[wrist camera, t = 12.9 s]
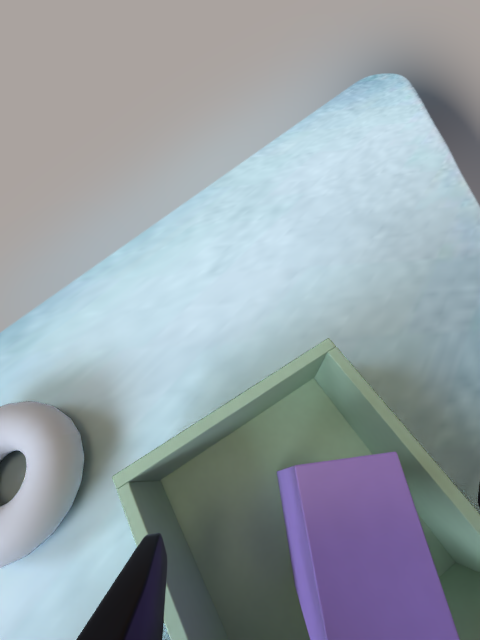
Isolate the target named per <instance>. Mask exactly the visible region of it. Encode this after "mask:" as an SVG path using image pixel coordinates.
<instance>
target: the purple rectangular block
mask: <svg viewBox="0 0 480 640" xmlns="http://www.w3.org/2000/svg"><path fill="white" fill-rule="evenodd" d="M277 477H278V483H279V490H280V496H281V502H282V508H283V515H284V521H285V527H286V533H287V540H288V546H289V552H290V558H291V565H292V571H293V577H294V583H295V588H296V591H297V595H298V598H299V602H300V605H301V609H302V612H303V616H304V619H305V623H306V626H307V630H308V633H309V637H310V640H460V638H459V635H458V632H457V629H456V626H455V623H454V620H453V617H452V614H451V612H450V609H449V606H448V603H447V600H446V597H445V594H444V591H443V588H442V585H441V582H440V579H439V576H438V573H437V570H436V567H435V564H434V561H433V558H432V555H431V552H430V549H429V546H428V543H427V540H426V537H425V534H424V531H423V528H422V525H421V522H420V519H419V516H418V513H417V511H416V508H415V505H414V502H413V499H412V496H411V493H410V490H409V487H408V484H407V481H406V478H405V475H404V472H403V469H402V466H401V463H400V460H399V457H398V454H397V452H395V451H394V452H387V453H380V454H373V455H365V456H358V457H351V458H344V459H336V460H329V461H322V462H315V463H307V464H300V465H294V466H291V467H288V468H285V469H282V470H279V471H277Z"/></svg>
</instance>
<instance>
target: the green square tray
mask: <svg viewBox="0 0 480 640" xmlns="http://www.w3.org/2000/svg"><path fill="white" fill-rule="evenodd" d="M394 451H395V452H397V454H398V457H399V460H400V463H401V466H402V469H403V472H404V475H405V478H406V481H407V484H408V487H409V490H410V493H411V496H412V499H413V502H414V505H415V508H416V511H417V513H418V516H419V519H420V522H421V525H422V528H423V531H424V534H425V537H426V540H427V543H428V546H429V549H430V552H431V555H432V558H433V561H434V564H435V567H436V570H437V573H438V576H439V579H440V582H441V585H442V588H443V591H444V594H445V597H446V600H447V603H448V606H449V609H450V612H451V614H452V617H453V620H454V623H455V626H456V629H457V632H458V635H459V638H460V640H480V514H479V513H478V512H477V510H476V509H475V508H474V507H473V506H472V505H471V503H470V502H469V501H468V500H467V499H466V498H465V496H464V495H463V494H462V493H461V492H460V490H459V489H458V488H457V487H456V486H455V485H454V483H453V482H452V481H451V480H450V479H449V478H448V476H447V475H446V474H445V473H444V472H443V471H442V469H441V468H440V467H439V466H438V465H437V464H436V462H435V461H434V460H433V459H432V458H431V457H430V455H429V454H428V453H427V452H426V451H425V450H424V448H423V447H422V446H421V445H420V444H419V443H418V441H417V440H416V439H415V438H414V437H413V436H412V434H411V433H410V432H409V431H408V430H407V429H406V427H405V426H404V425H403V424H402V423H401V422H400V420H399V419H398V418H397V417H396V416H395V415H394V413H393V412H392V411H391V410H390V409H389V408H388V406H387V405H386V404H385V403H384V402H383V401H382V399H381V398H380V397H379V396H378V395H377V394H376V392H375V391H374V390H373V389H372V388H371V387H370V385H369V384H368V383H367V382H366V381H365V380H364V378H363V377H362V376H361V375H360V374H359V372H358V371H357V370H356V369H355V368H354V367H353V365H352V364H351V363H350V362H349V361H348V360H347V358H346V357H345V356H344V355H343V354H342V353H341V351H340V350H339V349H338V348H337V347H336V346H335V345H334V343H333V342H332V341H331V340H330V339H329V338H328V339H326V340H324V341H323V342H321V343H320V344H318V345H317V346H315V347H313V348H312V349H310V350H309V351H307V352H306V353H304V354H303V355H301V356H299V357H298V358H296V359H295V360H293V361H292V362H290V363H288V364H287V365H285V366H284V367H282V368H281V369H279V370H278V371H276V372H274V373H273V374H271V375H270V376H268V377H267V378H265V379H264V380H262V381H260V382H259V383H257V384H256V385H254V386H253V387H251V388H249V389H248V390H246V391H245V392H243V393H242V394H240V395H239V396H237V397H235V398H234V399H232V400H231V401H229V402H228V403H226V404H225V405H223V406H221V407H220V408H218V409H217V410H215V411H214V412H212V413H210V414H209V415H207V416H206V417H204V418H203V419H201V420H200V421H198V422H196V423H195V424H193V425H192V426H190V427H189V428H187V429H186V430H184V431H182V432H181V433H179V434H178V435H176V436H175V437H173V438H171V439H170V440H168V441H167V442H165V443H164V444H162V445H161V446H159V447H157V448H156V449H154V450H153V451H151V452H150V453H148V454H147V455H145V456H143V457H142V458H140V459H139V460H137V461H136V462H134V463H132V464H131V465H129V466H128V467H126V468H125V469H123V470H122V471H120V472H118V473H117V474H115V475H114V476H113V477H112V479H113V481H114V484H115V487H116V489H117V493H118V495H119V498H120V501H121V504H122V506H123V509H124V512H125V515H126V518H127V520H128V523H129V526H130V529H131V531H132V534H133V537H134V540H135V543H136V545H137V547H138V545H139V544H140V542H141V541H142V539H143V538H144V537H145V536H146V535H148V534H153V533H161V535H162V538H163V541H164V545H165V549H166V553H167V578H166V593H165V607H164V623H165V626H166V629H167V631H168V634H169V637H170V640H310V637H309V633H308V630H307V626H306V623H305V619H304V616H303V612H302V609H301V605H300V602H299V598H298V595H297V591H296V588H295V583H294V577H293V571H292V565H291V558H290V552H289V546H288V540H287V533H286V527H285V521H284V515H283V508H282V502H281V496H280V490H279V483H278V477H277V471H279V470H282V469H285V468H288V467H291V466H294V465H300V464H307V463H315V462H322V461H329V460H336V459H344V458H351V457H358V456H365V455H373V454H380V453H387V452H394Z"/></svg>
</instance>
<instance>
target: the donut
mask: <svg viewBox="0 0 480 640" xmlns="http://www.w3.org/2000/svg"><path fill="white" fill-rule="evenodd" d="M15 450H18V451H21V452H22V453H23V454H24V456H25V458H26V465H27V469H26V474H25V479H24V481H23V483H22V485H21V488H20V490H19V491H18V492H17V494H16V495H15V496H14V498H13V499H12V500H11V501H9V502H8V503H7V504H5V505H3V506H0V568H2V567H4V566H6V565H8V564H11V563H13V562H15V561H17V560H19V559H21V558H23V557H25V556H27V555H28V554H30V553H31V552H32V551H33V550H35V549H36V548H37V547H38V546H39V545H40V544H41V543H42V542H44V541H45V540H46V539H47V538H48V537H49V536H50V535H52V534H53V533H54V531H55V530H56V528H57V527H58V525H59V524H60V523H61V521H62V520H63V518H64V517H65V515H66V514H67V513H68V511H69V510H70V508H71V506H72V504H73V501H74V499H75V496H76V494H77V491H78V489H79V486H80V484H81V481H82V474H83V466H84V452H83V446H82V440H81V435H80V433H79V431H78V430H77V428H76V426H75V425H74V423H73V421H72V419H71V418H69V417H68V416H67V415H65V414H64V413H63V412H61V411H60V410H59V409H57V408H56V407H54V406H52V405H48V404H43V403H39V402H34V401H27V402H18V403H10V404H6V405H4V406H1V407H0V461H1V460H2V459H3V458H4V457H5V456H6V455H7V454H9V453H10V452H13V451H15Z"/></svg>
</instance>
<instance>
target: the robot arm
mask: <svg viewBox="0 0 480 640" xmlns="http://www.w3.org/2000/svg"><path fill="white" fill-rule="evenodd" d="M478 504H479V507H480V484H479V493H478ZM166 578H167V553H166V549H165V545H164V541H163V538H162V535H161V533H153V534H148V535H146V536H145V537H144V538H143V539H142V541H141V542H140V544H139V545H138V547H137V548H136V550H135V551H134V553H133V554H132V556H131V557H130V559H129V560H128V562H127V563H126V565H125V566H124V568H123V569H122V571H121V573H120V574H119V576H118V577H117V579H116V580H115V582H114V583H113V585H112V586H111V588H110V589H109V591H108V592H107V594H106V595H105V597H104V598H103V600H102V601H101V603H100V604H99V606H98V607H97V609H96V611H95V612H94V614H93V615H92V617H91V618H90V620H89V621H88V623H87V624H86V626H85V627H84V629H83V630H82V632H81V633H80V635H79V636H78V638H77V639H76V640H162V634H163V622H164V607H165V593H166Z"/></svg>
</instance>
